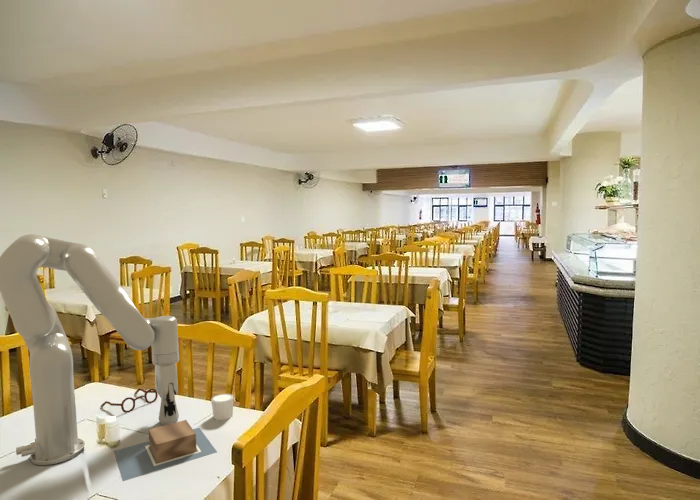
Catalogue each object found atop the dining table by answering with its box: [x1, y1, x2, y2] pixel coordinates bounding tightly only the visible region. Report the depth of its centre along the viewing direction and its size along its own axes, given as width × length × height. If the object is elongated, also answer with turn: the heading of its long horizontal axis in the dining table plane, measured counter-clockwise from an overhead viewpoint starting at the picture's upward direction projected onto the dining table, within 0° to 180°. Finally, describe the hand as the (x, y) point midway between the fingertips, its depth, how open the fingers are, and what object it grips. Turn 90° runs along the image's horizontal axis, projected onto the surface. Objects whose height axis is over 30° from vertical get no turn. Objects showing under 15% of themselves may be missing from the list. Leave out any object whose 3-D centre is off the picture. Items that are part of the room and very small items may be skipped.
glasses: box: [100, 387, 159, 414], centre depth 159 cm, size 13×13×5 cm
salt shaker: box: [158, 394, 180, 426], centre depth 142 cm, size 6×6×13 cm
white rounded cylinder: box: [210, 393, 234, 421], centre depth 145 cm, size 7×7×7 cm
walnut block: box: [148, 419, 197, 463], centre depth 126 cm, size 10×10×5 cm
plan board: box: [113, 427, 218, 482], centre depth 125 cm, size 23×17×1 cm
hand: (168, 414), depth 142 cm, fingers closed on salt shaker, 3 cm apart
